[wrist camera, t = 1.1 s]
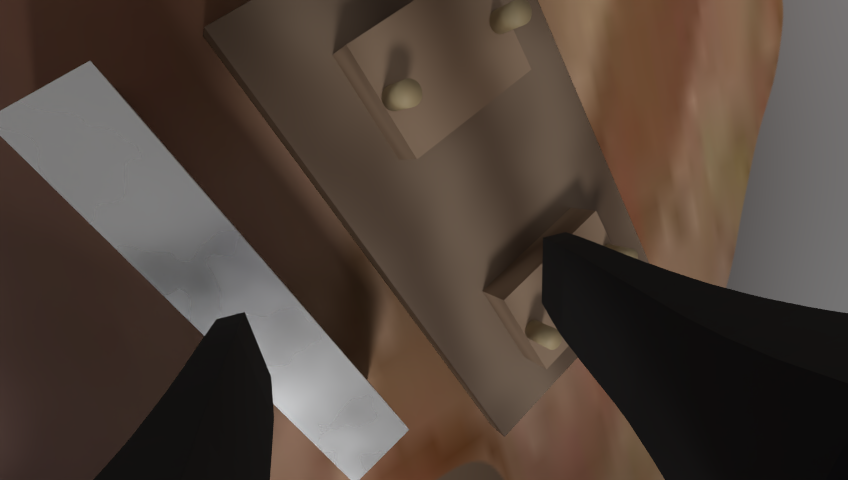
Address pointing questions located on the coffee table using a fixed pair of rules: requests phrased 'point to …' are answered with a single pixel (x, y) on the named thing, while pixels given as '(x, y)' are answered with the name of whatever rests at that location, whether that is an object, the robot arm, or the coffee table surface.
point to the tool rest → (440, 164)
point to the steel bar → (195, 255)
